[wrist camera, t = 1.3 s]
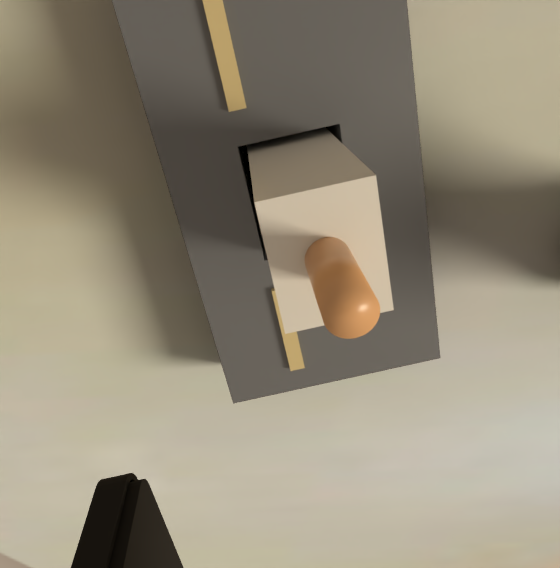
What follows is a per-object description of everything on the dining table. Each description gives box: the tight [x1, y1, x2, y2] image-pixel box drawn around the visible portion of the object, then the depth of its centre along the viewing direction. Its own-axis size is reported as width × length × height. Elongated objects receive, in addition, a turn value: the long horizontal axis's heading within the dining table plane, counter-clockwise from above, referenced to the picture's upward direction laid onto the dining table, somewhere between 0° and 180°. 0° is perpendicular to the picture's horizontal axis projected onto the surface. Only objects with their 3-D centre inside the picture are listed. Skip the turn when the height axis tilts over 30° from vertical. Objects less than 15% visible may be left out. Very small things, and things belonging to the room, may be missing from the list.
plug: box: [247, 127, 394, 339], centre depth 22 cm, size 5×4×16 cm
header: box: [112, 0, 440, 403], centre depth 27 cm, size 22×12×4 cm, turn 12°
